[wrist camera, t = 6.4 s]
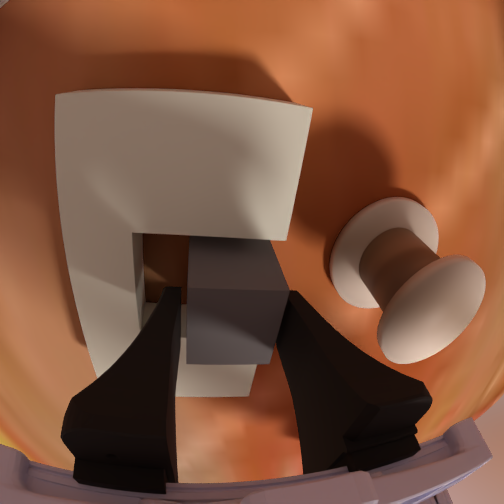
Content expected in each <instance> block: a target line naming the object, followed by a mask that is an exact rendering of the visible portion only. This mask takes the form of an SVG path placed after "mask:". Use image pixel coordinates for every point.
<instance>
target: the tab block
mask: <svg viewBox="0 0 504 504" xmlns="http://www.w3.org/2000/svg"><path fill="white" fill-rule="evenodd" d="M289 292H290V290H289V287H288V285H287V282H286V280H285V277H284V275H283V272H282V270H281V267H280V264H279V262H278V259H277V257H276V254H275V252H274V249H273V247H272V244H271V242H270V240H264V239H247V238H229V237H211V236H192V235H190V239H189V258H188V280H187V320H186V364H199V365H251V364H269V363H270V360H271V356H272V353H273V349H274V346H275V343H276V339H277V336H278V332H279V328H280V325H281V321H282V318H283V314H284V310H285V307H286V303H287V299H288V296H289Z"/></svg>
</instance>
